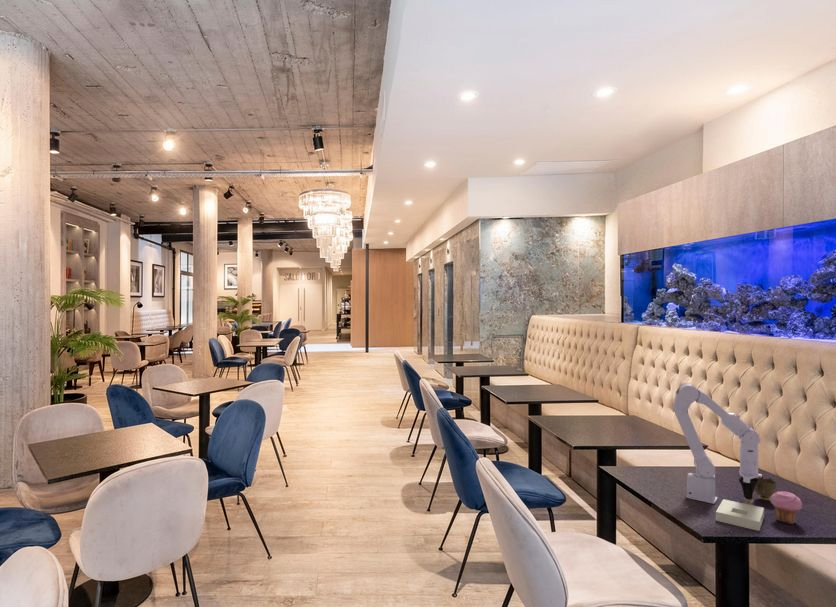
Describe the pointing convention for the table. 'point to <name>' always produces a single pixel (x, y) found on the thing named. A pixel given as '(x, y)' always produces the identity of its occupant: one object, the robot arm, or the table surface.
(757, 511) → the board
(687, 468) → the table surface
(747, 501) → the peg
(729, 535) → the table surface
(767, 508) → the table surface
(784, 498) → the cupcake
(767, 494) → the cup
